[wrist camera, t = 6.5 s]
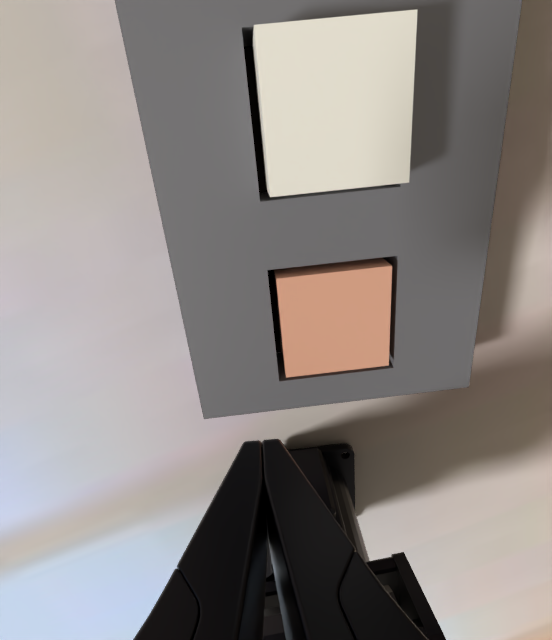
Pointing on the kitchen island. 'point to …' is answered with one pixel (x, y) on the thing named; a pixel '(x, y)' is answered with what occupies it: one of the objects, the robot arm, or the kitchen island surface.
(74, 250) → the kitchen island surface
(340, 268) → the terracotta button
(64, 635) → the kitchen island surface
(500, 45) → the button panel
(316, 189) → the cream button
